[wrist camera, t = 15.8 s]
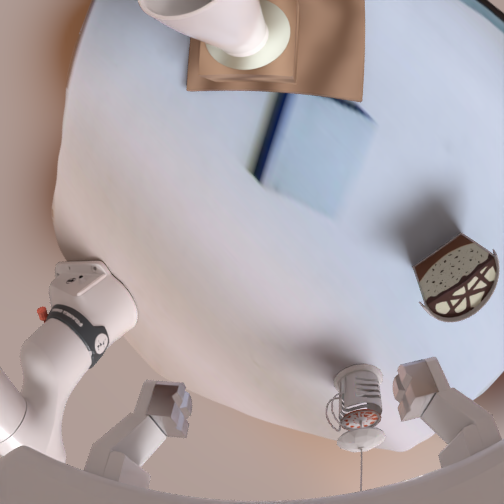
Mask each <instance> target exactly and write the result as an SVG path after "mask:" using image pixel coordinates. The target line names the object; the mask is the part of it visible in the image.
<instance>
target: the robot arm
mask: <svg viewBox="0 0 504 504" xmlns="http://www.w3.org/2000/svg"><path fill="white" fill-rule="evenodd" d="M55 276H56V278H55V279H54V280H53V281H52V282H51V284H50V286H49V298H50V304H51V311H50V312H49V314H47V310H46V308H45V307H40V308H38V310H37V313H38V315H39V317H40V320H42V321H44V324H43V325H42V326H41V327H39V328H38V329H37V330H36V331H35V332H34V333H33V334H32V335H31V336H30V337H29V338H28V339H27V340H26V341H25V342H24V343H23V345H22V348H21V352H20V362H21V367H22V371H23V386H22V390H21V392H19V391H18V390H17V389H16V387H15V386H14V385H13V384H12V382H11V381H10V380H9V378H8V377H7V375H6V374H5V373H4V371H3V370H2V368H1V367H0V455H2V456H3V457H1V458H0V504H504V439H503V440H502V438H501V436H500V433H499V430H498V428H497V425H496V423H495V420H494V418H493V415H492V414H491V413H489V412H488V411H487V410H485V409H484V408H482V407H481V406H479V405H478V404H477V403H475V402H474V401H472V400H471V399H469V398H468V397H466V396H465V395H464V394H462V393H461V392H459V391H458V390H456V389H455V388H450V386H449V384H448V381H447V379H446V377H445V375H444V373H443V370H442V368H441V366H440V364H439V362H438V360H437V358H436V357H431V358H427V359H422V360H418V361H414V362H409V363H405V364H401V365H400V366H399V367H398V370H397V371H398V375H397V376H396V377H395V378H394V381H393V394H394V397H395V399H396V400H397V401H398V402H400V404H399V406H398V411H399V414H400V418H401V421H407V420H411V419H415V418H419V417H421V419H422V420H423V421H424V422H425V423H426V424H427V425H428V426H429V427H430V428H431V429H432V430H433V431H434V432H435V433H436V434H438V436H440V437H441V438H442V439H443V440H444V441H445V442H446V443H447V444H448V445H447V446H446V447H445V448H444V449H443V450H442V451H441V452H440V454H439V455H438V456H439V460H440V463H441V469H438V470H435V471H433V472H430V473H427V474H424V475H421V476H418V477H415V478H412V479H408V480H405V481H401V482H398V483H394V484H391V485H387V486H383V487H378V488H374V489H369V490H365V491H360V492H355V493H349V494H343V495H336V496H329V497H322V498H312V499H302V500H285V501H235V500H219V499H207V498H198V497H190V496H183V495H177V494H171V493H165V492H160V491H155V490H150V489H148V488H149V483H150V478H151V476H150V474H149V473H148V472H146V471H145V470H143V469H142V468H141V466H142V465H143V464H144V462H145V461H146V460H147V459H148V458H149V457H150V456H151V455H152V454H153V453H154V451H155V450H156V449H157V448H158V447H159V446H160V445H161V444H162V442H163V441H164V440H165V439H166V438H167V437H166V436H168V437H179V438H186V437H187V432H188V427H189V423H188V421H187V420H186V419H187V418H188V417H189V416H190V415H191V412H192V399H191V396H190V394H189V393H188V392H186V391H185V389H186V387H185V385H184V383H183V382H167V381H154V380H146V381H145V382H144V384H143V386H142V389H141V392H140V395H139V398H138V401H137V404H136V407H135V410H134V413H129V414H128V415H127V416H126V417H125V418H124V419H122V420H121V421H120V422H119V423H118V424H116V425H115V426H114V427H113V428H112V429H110V430H109V431H108V432H107V433H106V434H105V435H103V436H102V437H101V438H100V439H99V440H97V441H96V442H95V443H94V444H93V445H92V447H91V451H90V453H89V456H88V459H87V462H86V465H85V468H84V470H81V469H78V468H75V467H73V466H70V465H68V464H66V463H65V462H66V451H65V448H64V444H63V440H62V429H61V428H62V417H63V412H64V408H65V405H66V402H67V399H68V397H69V395H70V393H71V392H72V390H73V389H74V387H75V386H76V384H77V383H78V381H79V380H80V379H81V377H82V376H83V375H84V373H85V372H86V371H87V370H88V369H90V368H92V367H93V366H94V365H95V364H96V363H97V361H98V360H99V359H100V358H101V357H102V355H103V354H104V352H105V350H106V349H107V347H109V346H110V345H111V344H112V343H113V342H114V341H116V340H117V339H119V338H120V337H121V336H122V335H123V334H124V333H126V332H127V331H129V330H130V329H132V328H133V327H134V326H135V325H136V323H137V318H138V314H137V308H136V305H135V303H134V300H133V298H132V297H131V295H130V293H129V292H128V290H127V289H126V288H125V287H124V286H123V285H122V284H121V283H120V282H119V281H118V280H117V279H116V278H115V277H114V276H113V275H112V274H111V273H110V271H109V270H108V268H107V267H106V265H105V264H104V263H103V262H102V261H71V262H58V263H57V264H56V268H55Z"/></svg>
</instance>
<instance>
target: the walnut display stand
mask: <svg viewBox="0 0 504 504" xmlns="http://www.w3.org/2000/svg"><path fill="white" fill-rule="evenodd" d="M259 1H260V5H261V9H262V12H263V16H264V19H265V22H266V24H267V26H268V30H269V37H268V40H267V43H266V44H265V46H264V47H263V48H262V49H261V50H260V51H259V52H257V53H256V54H253V55H251V56H247V57H235V56H231V55H229V54H227V53H225V52H224V51H222V50H220V49H218V48H216V47H214V46H211V45H209V44H207V43H204V42H202V41H199V40H197V39H194V38H191V37H190V48H189V61H188V75H187V91H266V92H282V93H295V94H305V95H314V96H322V97H330V98H337V99H344V100H350V101H356V102H362V96H363V80H364V57H365V0H259Z"/></svg>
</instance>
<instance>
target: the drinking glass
mask: <svg viewBox="0 0 504 504" xmlns="http://www.w3.org/2000/svg"><path fill="white" fill-rule="evenodd" d="M138 3H139V5H140V7H141V8H142V10H143V11H144V12H145V13H146V14H148V15H149V16H151V17H153V18H154V19H156V20H158V21H159V22H161V23H162V24H164V25H166V26H168V27H169V28H171V29H173V30H175V31H177V32H179V33H182V34H184V35H186V36H189V37H191V38H194V39H197V40H199V41H202V42H204V43H207V44H209V45H211V46H214V47H216V48H218V49H220V50H222V51H224V52H225V53H227V54H229V55H231V56H235V57H247V56H251V55H253V54H256V53H257V52H259V51H260V50H261V49H262V48H263V47H264V46H265V44H266V43H267V40H268V37H269V30H268V26H267V24H266V22H265V19H264V16H263V12H262V9H261V5H260V1H259V0H138Z"/></svg>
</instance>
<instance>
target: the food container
mask: <svg viewBox="0 0 504 504" xmlns="http://www.w3.org/2000/svg"><path fill="white" fill-rule="evenodd" d="M493 253H494V254H492V253H491V252H489V251H488V250H487V249H485V248H484V247H482V246H481V245H479V244H478V243H476V242H475V241H473V240H472V239H470V238H469V237H467V236H466V235H464V234H463V233H459V234H458V235H457V236H455V237H454V238H453V239H451V240H450V241H449V242H447V243H446V244H444V245H443V246H442V247H440V248H439V249H437V250H436V251H435V252H433V253H432V254H430V255H429V256H427V257H426V258H424V259H423V260H422V261H420V262H419V263H417V264H416V265H414V266H413V270H414V272H415V275H416V278H417V281H418V284H419V288H420V291H421V294H422V297H423V300H424V304H425V306H424V305H423V304H422V303H421V302H419V303H420V305H421V306H422V307H423V308H424V309H425V310H426V312H427V313H428V314H429V315H431V316H432V317H434V318H436V319H437V320H440V321H443V322H457V321H461V320H464V319H466V318H469V317H470V316H472V315H474V314H475V313H476V312H478V311H479V310H480V309H481V308H482V307H483V306H484V305H485V304H486V303H487V302H488V300H489V299H490V297H491V296H492V294H493V292H494V290H495V288H496V285H497V282H498V278H499V260H498V256H497V254H496V252H495V250H494V249H493Z"/></svg>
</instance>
